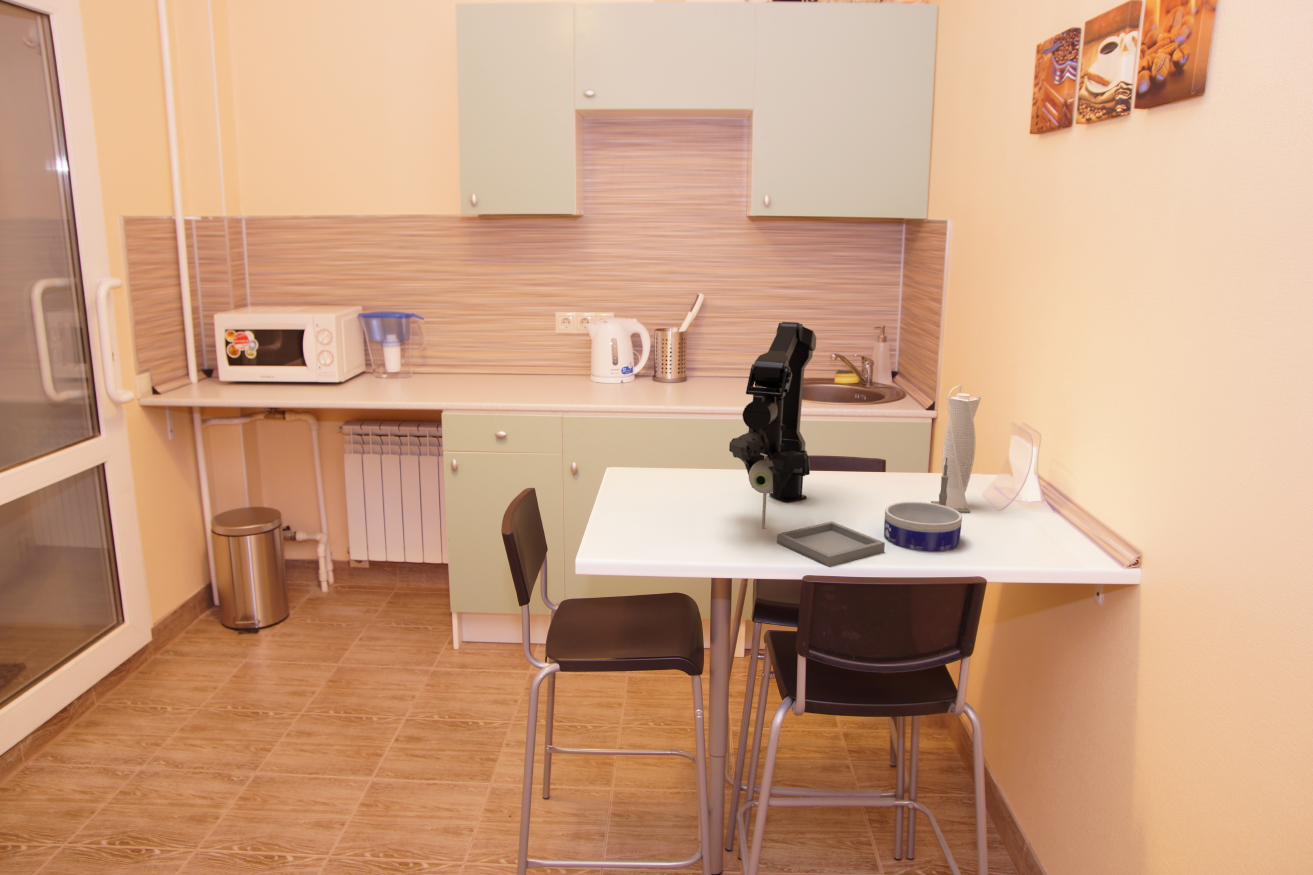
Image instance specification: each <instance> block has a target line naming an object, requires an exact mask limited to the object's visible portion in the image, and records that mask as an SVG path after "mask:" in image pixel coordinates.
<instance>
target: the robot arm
mask: <svg viewBox="0 0 1313 875" xmlns="http://www.w3.org/2000/svg"><path fill="white" fill-rule="evenodd" d="M775 334H776V335H774V336H775V337H774V339H773V340H772V343H771V345H770V346H769V348H768V351H767V352H765V353H762V354H760V355H758V357H757V358H756V360H754V363H752V364H751V367H750V371H749V376H748V380H747V381H748V382H747V385H746V390H745V395H751V396H752V400H751V402H749V403H748V404H747V405H745V407H744V408H743V411H742V420H743V422H744V424H745V425H746V426H747V427H748V432H746V433H744V434H742V435H740V436H738V437H734V438H732V439H731V440H730V441H729V448H728V449H729V452H730V453H732V456H733V458H737V459H739V460H740V461H742V462H743V464H744V466H745V469H746V472H747V475H748V477H749V472H750V469H751V467H752V466H753V465H754V464H755V463H756V462H758V461H761V460H765V458H768V460H771V461H772V463H773V465H774V466H771V467H768V468H769V469H770V470H771V472H772V473H773V492H772V493H768V495H769V497H772V498H774V499H777V500H780V501H782V502H785V503H791V502H796V501H800V500H804V499H807V495H805V494H803V485H804V484H803V482H804V477H805V476H809V475H811V474H810V471H811V465H810V464H811V463H810V462H811V461H810V458H809V454H808V451H807V450H806V441H805V439H804V437H803V435H802V433H801V432H800V431H801V416H802V405H803V404H802V403H803V394H804V393H803V390H804V379H805V368H806V367H807V366H808V364H809V362H811V360H812V359H813V353H814V351H815V350H816V346H817V336H816V334H815V332H814V330H813V329H810V328H807V327H806V326H804V325H803V323H800V322H796V321H795V322H793V321H782V322H779V323H778V325H777V328H776V333H775ZM751 488H752V489H754V488H753V487H752V486H751Z"/></svg>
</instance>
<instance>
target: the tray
mask: <svg viewBox="0 0 1313 875" xmlns="http://www.w3.org/2000/svg"><path fill="white" fill-rule="evenodd" d="M776 535H777V536H776V544H778V545H781V546H782V547H784V548H787V549H789V550H791V551H793V552H795V553H797V554H800V555H802V556H805V557H806V558H809V559H811V560H813V561H815V562H817V563H819V564H821V565H824V566H826V567H832V566H836V565H841V564H844V563H848V562H852V561H855V560H859V559H864V558H867V557H871V556H874V555H879V554H882V553H885V546H886V545H885V544H886V543H885V541H882V540H879V539H877V538H875V537H872V536H870V535H866V534H864V533H862V532H860V531H857V530H855V529H852V528H849V527H847V526H845V525H843V524H839V523H837V522H834V521H827V522H824V523H818V524H816V525H815V524H814V525H810V526H805V527H802V528H801V527H800V528H796V529H791V530H788V531H784V532H779V533H777V534H776Z"/></svg>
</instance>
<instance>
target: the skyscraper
mask: <svg viewBox="0 0 1313 875" xmlns="http://www.w3.org/2000/svg"><path fill="white" fill-rule="evenodd" d="M957 388H958V392H957V394H956V396H955V395H953V396H951V394H952V392H953V391H954V390H955V389H957ZM962 388H963V387H962V385H961V384H958V385H955V386H954V387H952V388H950V390H949V392H948V395H947V397H946V401H947V402H946V403H947V411H948V412H947V413H948V421H947V423H946V424H947V425H946V428H945V432H944V437H943V445H942V453H941V454H942V455H941V456H942V457H941V469H942V470H941V472H942V475H941V481H940V491H939V493H938V501H937V500H930V503H933V504H939V505H943V506H947V507H949V508H952V509H954V510H956V511H958V512H959V513H960V514H971V510H970V509H969V506H968V501H967V499H966V491H967V489H968V486H969V482H970V478H971V475H972V471H973V465H974V463H975V462H974V461H975V455H976V428H975V420H974V418H975V416H976V413H977V410H978V407H979V404H980V402H981V399H982V397H981V396H980V395H976V396H975V395H974V396H972V397H971V395H970V394H969V393H965V392H964V393H962ZM950 396H951V397H950Z"/></svg>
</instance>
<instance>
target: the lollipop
mask: <svg viewBox="0 0 1313 875" xmlns="http://www.w3.org/2000/svg"><path fill="white" fill-rule="evenodd" d="M771 466H774V465H773V463H772V461H771V460H769V459H764V460H761V461H758V462H756V463H755V464H754V465H753V466H752V467H751V469H750V472H749V476H748V481H749V483H750V486H751V488H752V487H753V488H752V489H753V490H755V491H756V492H758V493H760V494H762V515H761V516H762V517H761V519H762V520H761V529H766V519H767V518H766V517H767V494H768V495H769V493H773V473H772V472H771V470H770V469H769V468H768V467H771Z"/></svg>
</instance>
